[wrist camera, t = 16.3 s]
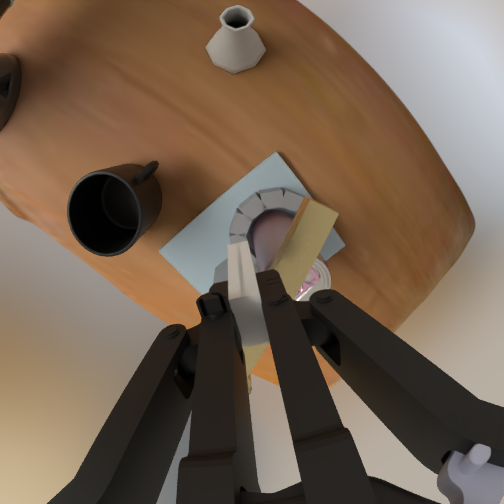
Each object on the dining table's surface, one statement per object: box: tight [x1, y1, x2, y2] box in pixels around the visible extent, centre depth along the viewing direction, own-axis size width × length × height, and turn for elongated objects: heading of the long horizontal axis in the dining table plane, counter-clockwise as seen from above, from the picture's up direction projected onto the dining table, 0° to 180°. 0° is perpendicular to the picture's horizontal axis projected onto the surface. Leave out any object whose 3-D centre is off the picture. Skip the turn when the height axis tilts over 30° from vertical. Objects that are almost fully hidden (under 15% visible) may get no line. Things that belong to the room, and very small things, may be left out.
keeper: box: [242, 196, 339, 394], centre depth 17 cm, size 4×16×1 cm, turn 157°
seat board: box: [159, 152, 346, 295], centre depth 29 cm, size 16×20×20 cm
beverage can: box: [252, 210, 331, 301], centre depth 30 cm, size 6×6×15 cm
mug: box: [67, 161, 162, 257], centre depth 30 cm, size 9×12×9 cm
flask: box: [205, 5, 266, 74], centre depth 24 cm, size 7×7×10 cm
